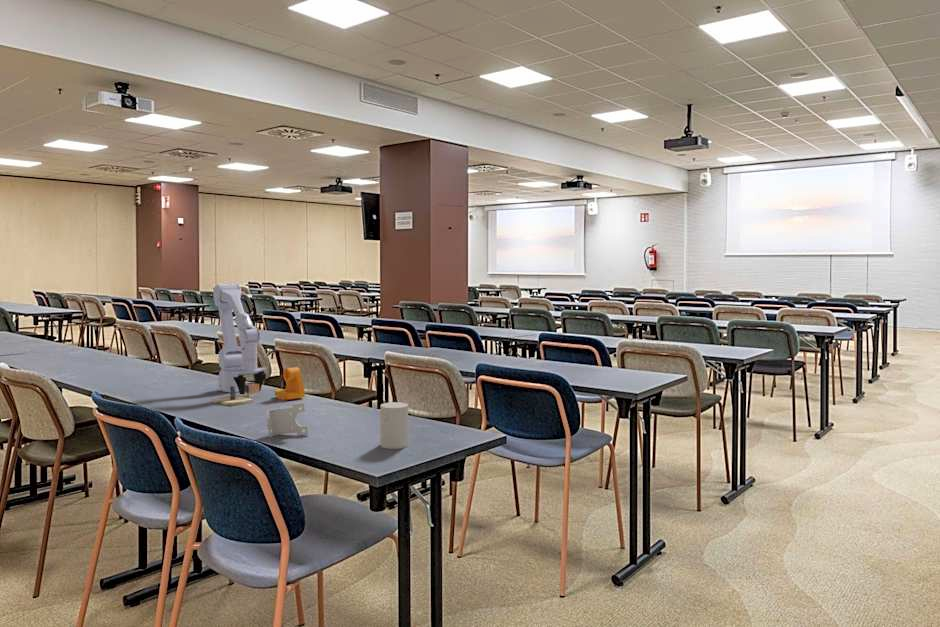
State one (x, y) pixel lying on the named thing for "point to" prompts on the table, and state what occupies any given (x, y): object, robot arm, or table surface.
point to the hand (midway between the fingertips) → (250, 392)
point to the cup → (394, 425)
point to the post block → (232, 399)
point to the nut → (251, 390)
